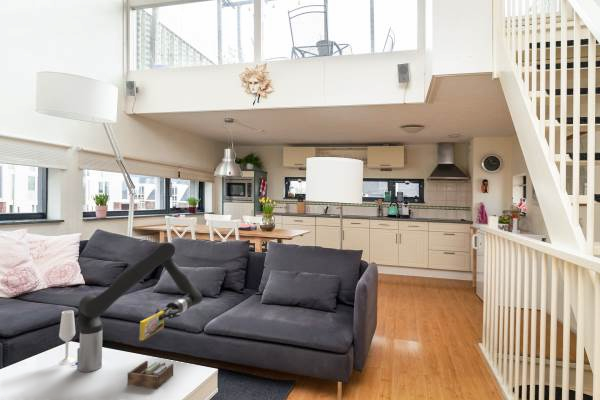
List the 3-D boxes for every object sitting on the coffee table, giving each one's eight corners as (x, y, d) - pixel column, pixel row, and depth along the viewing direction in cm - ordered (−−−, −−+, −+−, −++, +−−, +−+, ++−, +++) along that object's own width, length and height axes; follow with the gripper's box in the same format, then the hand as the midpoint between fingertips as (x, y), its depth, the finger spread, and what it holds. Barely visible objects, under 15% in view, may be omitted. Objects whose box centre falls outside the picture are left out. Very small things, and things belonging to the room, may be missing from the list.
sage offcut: (145, 383, 156) (145, 369, 156) (156, 375, 164) (156, 361, 164) (149, 384, 156) (149, 370, 156) (160, 375, 164) (160, 362, 164)
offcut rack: (127, 385, 155) (127, 373, 155) (145, 371, 167) (145, 360, 167) (157, 389, 152) (157, 377, 152) (173, 375, 164) (173, 364, 164)
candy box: (143, 341, 158) (143, 322, 158) (138, 340, 159) (139, 321, 159) (164, 328, 174) (164, 310, 174) (160, 327, 175) (160, 310, 175)
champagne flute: (54, 363, 174) (56, 312, 174) (68, 357, 180) (69, 309, 180) (65, 365, 172) (66, 314, 172) (78, 359, 178) (79, 310, 178)
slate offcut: (153, 385, 155) (153, 372, 155) (162, 377, 162) (162, 365, 162) (157, 385, 154) (157, 372, 155) (166, 378, 161) (166, 365, 161)
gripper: (164, 299, 188) (143, 309, 171) (189, 301, 185) (170, 311, 168) (164, 313, 188) (143, 325, 171) (189, 316, 185) (170, 327, 168)
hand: (157, 318), depth 170 cm, fingers closed on candy box, 2 cm apart
